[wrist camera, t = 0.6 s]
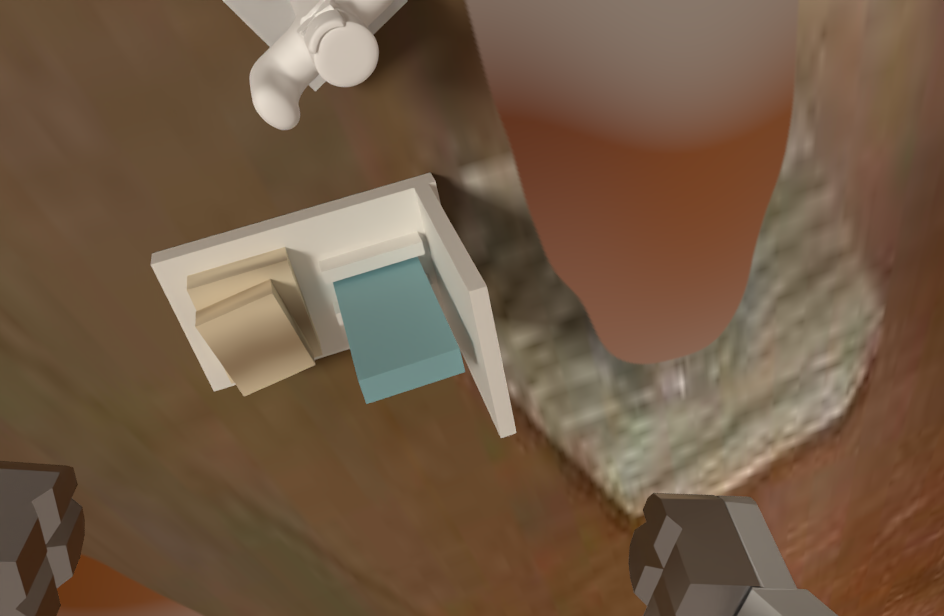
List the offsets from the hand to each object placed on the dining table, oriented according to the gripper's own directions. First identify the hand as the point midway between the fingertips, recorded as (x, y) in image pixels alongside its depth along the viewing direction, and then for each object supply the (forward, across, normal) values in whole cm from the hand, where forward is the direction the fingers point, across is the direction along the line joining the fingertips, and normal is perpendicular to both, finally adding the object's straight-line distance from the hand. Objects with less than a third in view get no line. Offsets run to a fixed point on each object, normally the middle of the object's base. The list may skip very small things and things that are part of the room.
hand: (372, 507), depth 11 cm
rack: (+40, +4, +22) cm, 45 cm away
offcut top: (+35, +7, +24) cm, 43 cm away
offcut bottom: (+37, +8, +23) cm, 44 cm away
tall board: (+39, 0, +21) cm, 44 cm away
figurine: (+41, +5, +2) cm, 41 cm away
